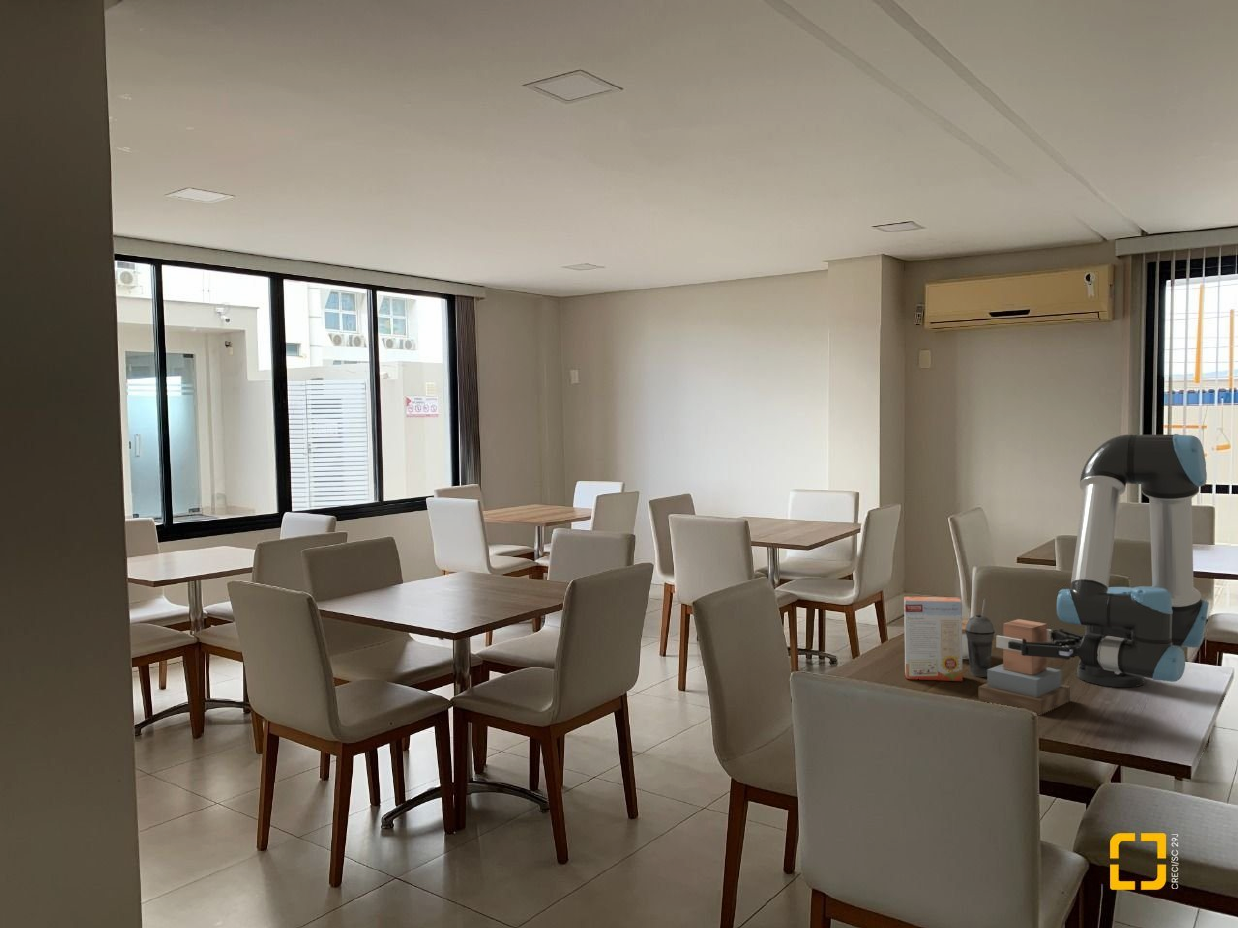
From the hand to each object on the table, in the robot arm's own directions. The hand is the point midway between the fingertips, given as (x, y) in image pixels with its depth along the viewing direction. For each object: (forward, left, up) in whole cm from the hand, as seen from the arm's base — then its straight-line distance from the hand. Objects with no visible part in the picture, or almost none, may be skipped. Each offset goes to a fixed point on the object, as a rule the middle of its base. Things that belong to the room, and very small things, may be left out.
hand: (1010, 636), depth 222 cm
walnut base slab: (0, +3, -16) cm, 16 cm away
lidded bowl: (-26, -28, -15) cm, 41 cm away
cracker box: (-2, -22, -15) cm, 27 cm away
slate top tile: (0, +3, -12) cm, 12 cm away
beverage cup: (-13, -15, -15) cm, 25 cm away
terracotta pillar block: (-1, +3, -7) cm, 8 cm away
